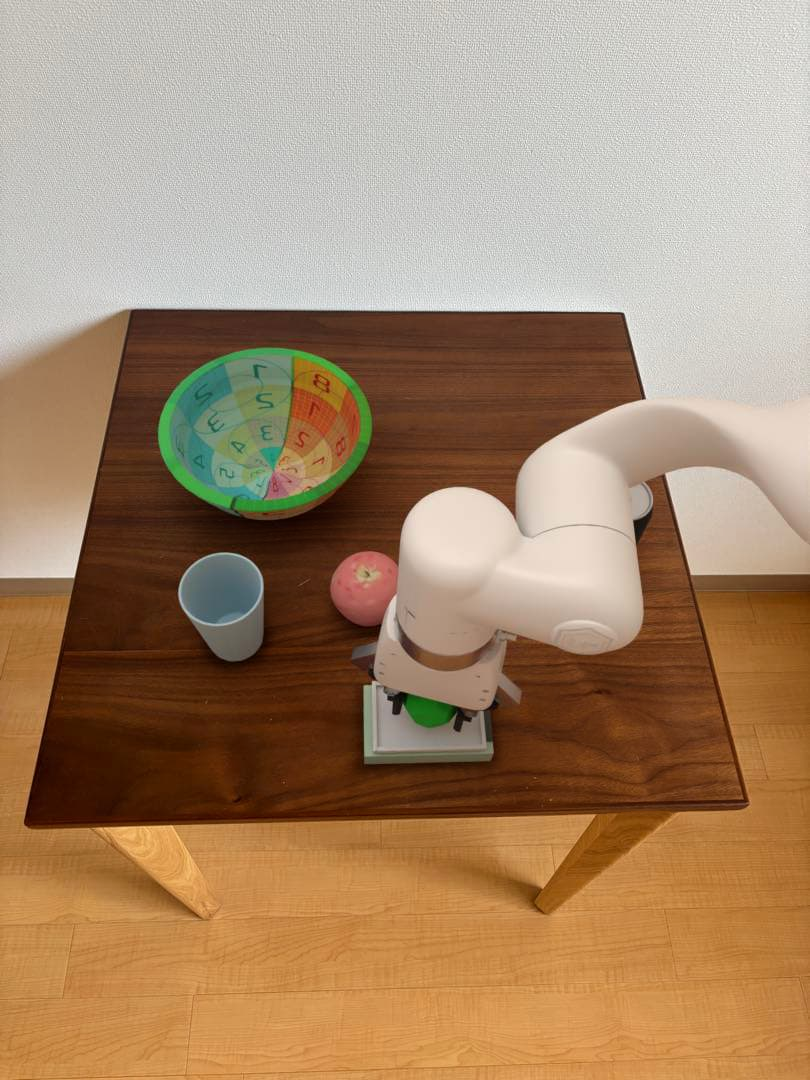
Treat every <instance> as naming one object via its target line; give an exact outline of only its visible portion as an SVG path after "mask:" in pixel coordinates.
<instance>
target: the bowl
mask: <svg viewBox="0 0 810 1080" xmlns="http://www.w3.org/2000/svg"><path fill="white" fill-rule="evenodd" d="M370 408H371V407H370V404H369V402H368V399H367V398H366V395H365V393H364V392H363V391H362V389H361V388H360V386H359V385H358V383H357V382H356V381H355V380H354V379H353V378H352V377H351V376H350V375H349V374H348V373H347V372H345V371H344V370H343V369H341V367H339V366H338V365H336V364H335V363H333V362H331V361H329V360H327V359H326V358H323V357H321V356H317V355H315V354H313V353H310V352H306V351H302V350H297V349H292V348H291V349H290V348H284V347H283V348H282V347H260V348H249V349H245V350H240V351H234V352H231V353H228V354H225V355H223V356H220V357H217V358H215V359H213V360H210V361H209V362H207V363H205V364H203V365H201V366H200V367H198V368H197V369H195V370H194V371H192V373H190V374H189V375H188V376H186V377H185V378H184V379H183V380H182V381H181V382H180V383H179V384H178V385H177V386H176V387H175V389H174V390H173V391H172V392H171V394H170V396H169V397H168V398H167V400H166V402H165V404H164V406H163V409H162V412H161V414H160V418H159V422H158V428H157V436H158V437H157V439H158V442H157V443H158V446H159V451H160V454H161V458H162V459H163V462H164V463H165V466H166V469H168V471H169V472H170V473H171V474H172V476H173V478H175V480H176V481H177V482H178V483H179V484H180V485H181V486H183V488H185V489H186V490H187V491H189V492H190V493H192V494H193V495H194V496H196V497H198V498H199V499H201V500H203V501H205V502H206V503H208V504H210V505H212V506H213V507H216V508H217V509H219V510H221V511H223V512H226V513H228V514H230V515H232V516H233V515H234V516H237V517H241V518H243V519H250V520H257V521H276V520H284V519H288V518H292V517H296V516H299V515H302V514H305V513H307V512H309V511H311V510H312V509H314V508H316V507H318V506H320V505H321V504H323V503H325V502H326V501H327V500H329V498H331V497H332V496H333V495H334V494H335V493H336V492H337V491H338V490H339V489H340V488H341V487H342V486H343V485H344V484H345V483H346V482H347V481H348V479H349V478H350V477H351V476H352V475H353V474H354V473H355V472H356V471H357V469H358V468H359V466H360V464H361V463H362V461H363V460H364V458H365V457H366V454H367V451H368V449H369V447H370V444H371V440H372V439H371V438H372V435H373V417H372V413H371V412H372V411H371V409H370Z"/></svg>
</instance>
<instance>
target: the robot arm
mask: <svg viewBox="0 0 810 1080" xmlns="http://www.w3.org/2000/svg"><path fill="white" fill-rule="evenodd" d="M704 467H705V468H707V467H708V468H716V469H722V470H726V471H729V472H731V473H735V474H738V475H740V476H742V477H744V479H745V478H746V479H747V480H749V481H751V482H752V483H753V484H754V485H755V486H756V487H757V488H759V490H760V491H761V492H762V493H763V494H764V496H765V497H766V499H768V501H769V502H770V503H771V505H772V506H773V507H774V508H775V510H776V511H777V512H778V514H779V515H780V516H781V517H782V519H783V520H784V521H785V523H786V524H787V525H788V526H789V527H790V528H791V529H792V530H793V532H795V533H796V534H797V535H798V537H799V538H800V539H802V540H803V541H804V542H806V544H808V545H810V393H809V394H805V395H803V396H802V397H799V398H797V399H793V400H791V401H789V402H785V403H783V404H782V403H781V404H779V405H774V406H755V405H751V404H745V403H740V402H736V401H731V400H727V399H721V398H715V397H703V396H701V397H698V396H697V397H695V396H693V397H692V396H678V397H677V396H675V397H670V396H669V397H654V398H647V399H646V398H645V399H640V400H635V401H631V402H628V403H624V404H621V405H619V406H617V407H616V406H615V407H613V408H611V409H609V410H606V411H605V412H602V413H600V414H597V415H596V416H593V417H591V418H590V419H587V420H585V421H583V422H581V423H579V424H577V425H574V426H573V427H571V428H569V429H566V430H565V431H562V432H561V433H559V434H557V435H556V436H554V437H553V438H551V439H549V440H548V441H546V442H545V443H543V444H542V445H541V446H539V447H538V448H537V449H536V450H534V451H533V452H532V453H531V454H530V455H529V456H528V458H526V459H525V461H524V463H523V464H522V466H521V468H520V469H519V471H518V474H517V477H516V484H515V500H514V501H515V503H514V504H515V517H514V515H513V513H512V512H511V511H510V509H509V508H508V507H507V506H506V505H505V504H504V503H503V502H501V500H499V499H498V498H496V497H494V496H493V495H492V494H490V493H487V492H485V491H483V490H481V489H477V488H474V487H473V488H472V487H467V486H453V487H447V488H441V489H439V490H436V491H433V492H431V493H429V494H427V495H426V496H424V497H423V498H421V499H420V500H419V501H418V502H417V503H416V504H415V505H413V507H412V508H411V510H410V511H409V512H408V514H407V516H406V518H405V520H404V522H403V525H402V527H401V533H400V541H399V553H398V567H399V568H398V583H397V594H396V595H395V596H394V597H393V599H392V600H391V602H390V604H389V605H388V608H387V610H386V613H385V615H384V619H383V623H382V624H381V627H380V630H379V631H380V632H379V635H378V640H376V641H373V642H369V643H366V644H362V645H358V646H355V647H353V650H352V652H351V656H350V659H349V662H350V664H352V665H354V666H355V667H358V669H361V670H362V671H364V672H366V671H367V672H368V673H367V675H368V677H370V679H372V680H373V681H377V682H379V683H380V684H382V685H383V686H384V689H383V692H384V693H385V694H387V700H388V701H392V702H393V706H392V714H393V715H398V714H399V715H400V713H401V709H402V705H403V702H404V694H405V692H406V693H409V694H413V695H417V696H420V697H424V698H428V699H431V700H435V701H439V702H443V703H447V704H451V705H455V706H459V707H458V710H457V714H456V718H455V722H454V727H453V729H454V730H455V731H456V732H460V731H461V728H462V724H463V721H466V722H470V723H471V720H472V717H477V714H478V711H487V710H490V712H491V711H495V710H498V709H499V707H501V708H519V707H521V703H522V699H523V698H522V697H523V694H524V691H523V690H522V689H521V688H520V687H518V685H516V684H515V683H514V681H512V680H511V679H510V678H508V677H507V676H506V675H505V674H504V673H503V671H502V669H503V667H504V662H505V657H506V653H507V646H508V645H507V644H508V642H511V643H516V641H517V637H518V636H521V637H523V638H527V639H530V640H532V641H537V642H539V643H543V644H547V645H548V646H549V645H550V646H554V647H556V648H558V649H560V650H563V651H565V652H568V653H572V654H576V655H584V656H590V655H591V656H593V655H600V654H603V653H608V652H613V651H616V650H619V649H622V648H624V647H626V646H627V645H629V644H630V643H632V642H633V641H634V640H635V639H636V637H637V636H638V635H639V633H640V630H641V629H642V625H643V623H644V614H645V613H644V597H643V588H642V579H641V575H640V567H639V559H638V549H637V546H636V541H635V533H634V525H633V518H632V510H631V501H630V493H629V488H631V487H633V486H636V485H638V484H640V483H643V482H645V483H646V482H647V481H650V480H652V479H655V478H658V477H659V476H662V475H665V474H668V473H672V472H675V471H678V470H683V469H690V468H704Z"/></svg>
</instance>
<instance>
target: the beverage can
mask: <svg viewBox="0 0 810 1080" xmlns="http://www.w3.org/2000/svg"><path fill="white" fill-rule="evenodd" d="M629 493H630V501H631V510H632V518H633V525H634V533H635V541H636V547H637V546H638V544H639V542H640V540H641V538H642V537H643V535H644V532H645V531H646V529H647V526H648V525H649V523H650V521H651V519H652V517H653V512H654V506H653V505H654V504H653V503H654V496H653V492H652V490H651V487H649V485H648V484H647V483H646V481H645V482H643V483H640V484H638V485H636V486H633V487H631V488H629Z"/></svg>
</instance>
